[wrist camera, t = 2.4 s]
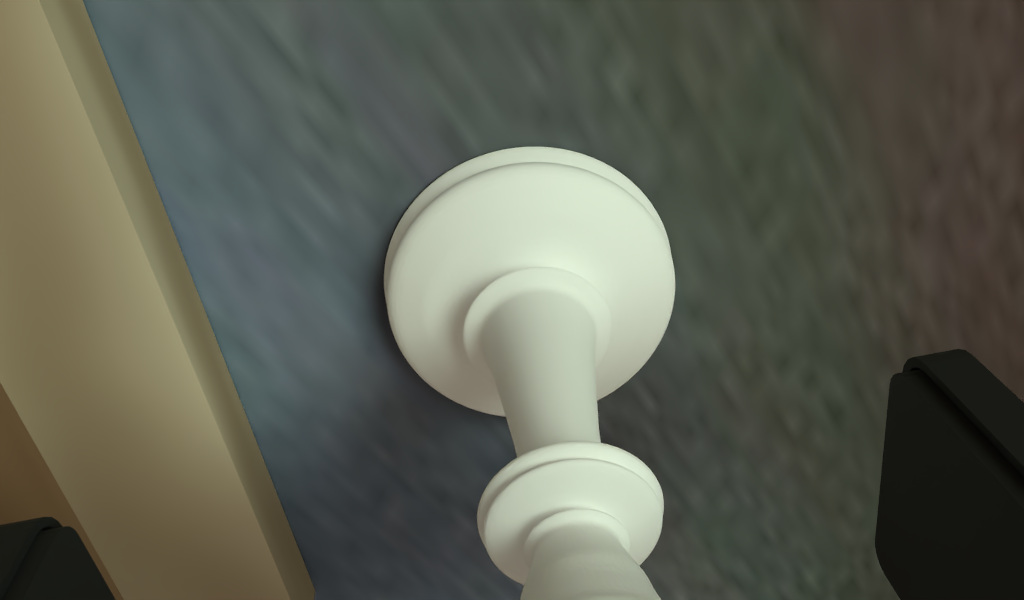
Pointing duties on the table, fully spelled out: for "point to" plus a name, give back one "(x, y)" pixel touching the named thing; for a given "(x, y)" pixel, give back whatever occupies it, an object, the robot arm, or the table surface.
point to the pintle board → (116, 345)
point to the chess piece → (542, 352)
